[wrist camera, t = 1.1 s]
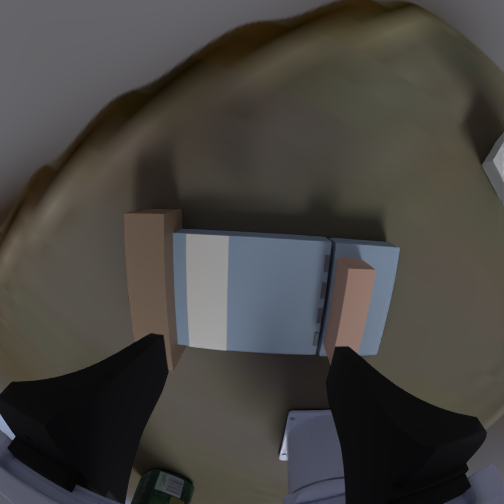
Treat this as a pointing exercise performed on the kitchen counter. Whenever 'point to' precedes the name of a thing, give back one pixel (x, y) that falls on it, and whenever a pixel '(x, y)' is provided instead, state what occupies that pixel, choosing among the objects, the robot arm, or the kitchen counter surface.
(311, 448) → the robot arm
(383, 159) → the kitchen counter surface
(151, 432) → the kitchen counter surface
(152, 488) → the coffee jar
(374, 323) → the slab with raised block
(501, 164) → the figurine
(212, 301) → the striped blue tabbed panel
